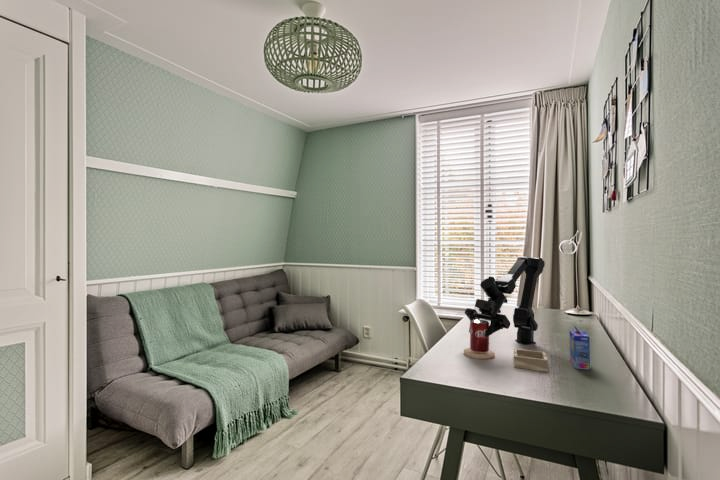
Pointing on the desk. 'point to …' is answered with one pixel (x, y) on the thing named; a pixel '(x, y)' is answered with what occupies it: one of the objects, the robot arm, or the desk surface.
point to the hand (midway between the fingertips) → (477, 334)
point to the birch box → (530, 360)
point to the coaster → (479, 354)
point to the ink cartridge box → (579, 349)
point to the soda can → (479, 336)
